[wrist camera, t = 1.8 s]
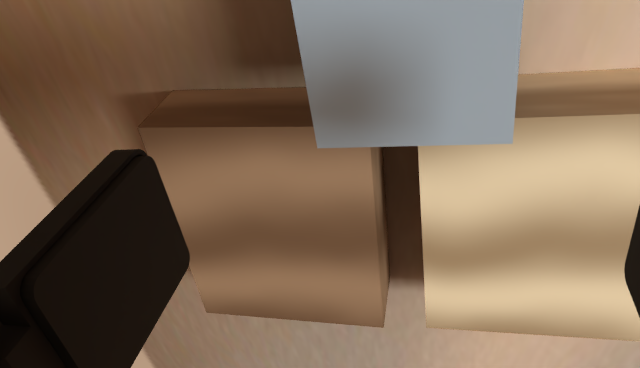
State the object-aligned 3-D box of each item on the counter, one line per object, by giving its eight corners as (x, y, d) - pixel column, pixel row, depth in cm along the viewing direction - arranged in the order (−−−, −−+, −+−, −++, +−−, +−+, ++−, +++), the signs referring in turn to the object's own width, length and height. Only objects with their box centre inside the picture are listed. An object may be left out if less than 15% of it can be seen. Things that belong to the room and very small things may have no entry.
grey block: (330, -93, 19) (281, -48, 13) (503, -118, 17) (529, -79, 12) (349, 61, 22) (317, 148, 17) (495, 52, 21) (512, 144, 15)
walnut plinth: (176, 87, 25) (137, 127, 22) (379, 81, 23) (368, 126, 20) (230, 262, 32) (206, 312, 29) (390, 272, 30) (383, 327, 27)
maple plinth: (421, 76, 22) (416, 121, 19) (744, 58, 19) (802, 108, 16) (428, 270, 29) (426, 327, 26) (667, 279, 26) (697, 345, 23)
